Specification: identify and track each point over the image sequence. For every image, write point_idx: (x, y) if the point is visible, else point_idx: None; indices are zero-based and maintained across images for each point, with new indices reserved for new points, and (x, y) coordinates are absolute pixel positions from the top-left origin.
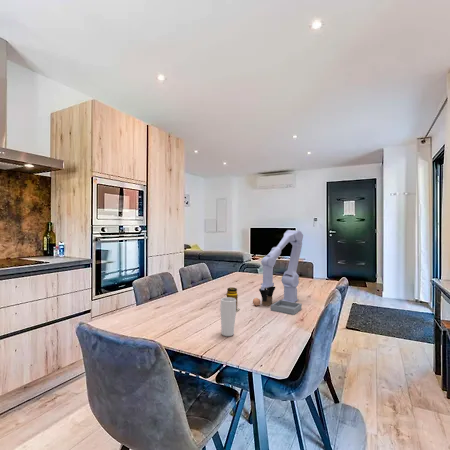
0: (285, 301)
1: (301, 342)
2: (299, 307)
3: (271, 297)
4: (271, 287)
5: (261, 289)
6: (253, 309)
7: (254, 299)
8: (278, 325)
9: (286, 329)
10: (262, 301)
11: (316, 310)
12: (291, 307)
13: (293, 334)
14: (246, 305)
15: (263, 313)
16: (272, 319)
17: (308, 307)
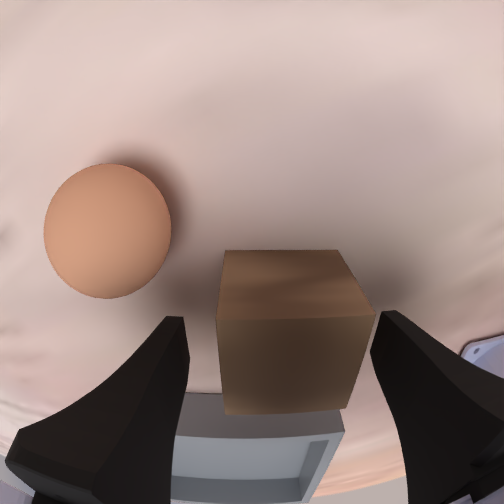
0: (319, 461)
1: (2, 454)
2: (263, 494)
3: (313, 409)
4: (436, 502)
5: (8, 492)
6: (10, 255)
7: (44, 230)
8: (3, 423)
9: (10, 440)
10: (221, 282)
11: (320, 495)
12: (286, 458)
13: (9, 449)
14: (52, 104)
15: (21, 355)
16: (14, 405)
17: (359, 474)
